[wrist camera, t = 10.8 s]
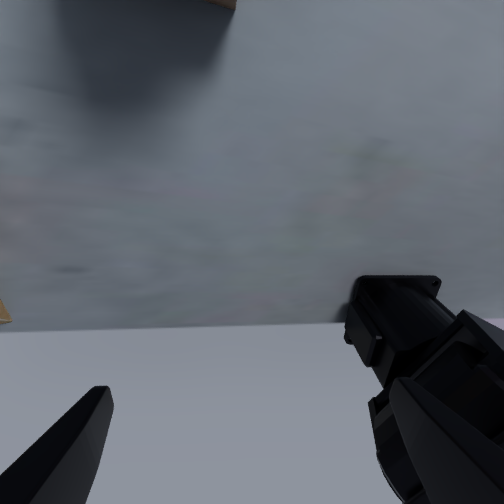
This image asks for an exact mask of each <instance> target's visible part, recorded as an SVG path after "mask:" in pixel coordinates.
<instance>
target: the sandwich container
mask: <svg viewBox="0 0 504 504" xmlns="http://www.w3.org/2000/svg"><path fill="white" fill-rule="evenodd" d="M9 322H12V319H11V317H10V315H9V313H8V312H7V310H6V308H5V306H4V305H3V303H2V301H1V299H0V324H3V323H9Z"/></svg>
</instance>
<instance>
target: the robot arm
mask: <svg viewBox="0 0 504 504" xmlns="http://www.w3.org/2000/svg"><path fill="white" fill-rule="evenodd" d="M364 281H366V283H364V284H362V283H363V282H364ZM434 281H435V282H434ZM433 282H434V283H433ZM441 282H442V281H441V280H440V279H439V278H438V277H437V276H422V275H364V276H361V277H359V278H358V280H357V283H356V287H355V292H354V296H353V300H352V301H351V303H350V305H349V309H348V313H347V318H346V322H345V329H346V330H345V335H344V339H345V341H346V343H347V344H350V345H354V346H355V348H356V350H357V352H358V354H359V356H360V357H361V359H362V361H363V363H364V365H365V366H366V367H372V369H373V371H374V372H375V374H376V376H377V378H378V380H379V382H380V383H381V385H382V387H383V390H382V391H381V392H380V393H379V394H378V395H377V396H376V397H373V398H372V399H371V400H370V401H369V402H368V406H369V412H370V417H371V423H372V428H373V433H374V439H375V444H376V450H377V452H376V455H377V460H378V462H379V464H380V467H381V469H382V472H383V475H384V477H385V478H386V480H387V482H388V483H389V485H390V487H391V488H392V490H393V491H394V493H395V494H396V495H397V497H398V498H399V499H400V500H401V501H402V504H504V330H502V329H500V328H498V327H496V326H494V325H492V324H490V323H488V322H486V321H485V320H483V319H481V318H479V317H477V316H475V315H473V314H471V313H469V312H468V311H466V310H464V309H463V310H462V311H461V312H460V313H459V314H458V315H457V317H456V316H455V315H454V314H453V313H452V312H451V311H450V310H449V309H447V308H446V307H445V306H444V305H443V304H442V303H441V302H440V301H439V300H437V299H436V296H437V293H438V291H439V288H440V286H441ZM113 408H114V403H113V399H112V395H111V391H110V388H109V387H108V386H95V387H93V388H91V389H90V390H89V391H88V392H87V393H86V394H85V395H84V396H83V397H82V398H81V399H80V400H79V401H78V402H77V403H76V404H75V405H73V406H72V407H71V408H70V409H69V410H68V411H67V412H66V413H65V414H64V415H63V416H62V417H61V418H60V419H59V420H58V421H57V422H56V423H55V424H53V425H52V427H50V428H49V429H48V430H47V431H46V432H45V433H44V434H43V435H42V436H41V437H40V438H39V439H38V440H37V441H36V442H35V443H34V444H33V445H32V446H30V447H29V448H28V449H27V450H26V451H25V452H24V453H23V454H22V455H21V456H20V457H19V458H18V459H17V460H16V461H15V462H14V463H13V464H12V465H11V466H9V467H8V468H7V469H6V470H5V471H4V472H3V473H2V474H1V475H0V504H85V503H86V500H87V497H88V495H89V492H90V489H91V487H92V484H93V481H94V479H95V475H96V473H97V470H98V467H99V463H100V459H101V455H102V452H103V448H104V444H105V441H106V437H107V433H108V429H109V425H110V421H111V418H112V414H113Z"/></svg>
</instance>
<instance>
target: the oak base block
mask: <svg viewBox="0 0 504 504" xmlns="http://www.w3.org/2000/svg"><path fill="white" fill-rule="evenodd" d="M204 1H207V2H210V3H213V4H216V5H220V6H223V7H226V8H229V9H232V10H235V9H236V2H237V0H204Z"/></svg>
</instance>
